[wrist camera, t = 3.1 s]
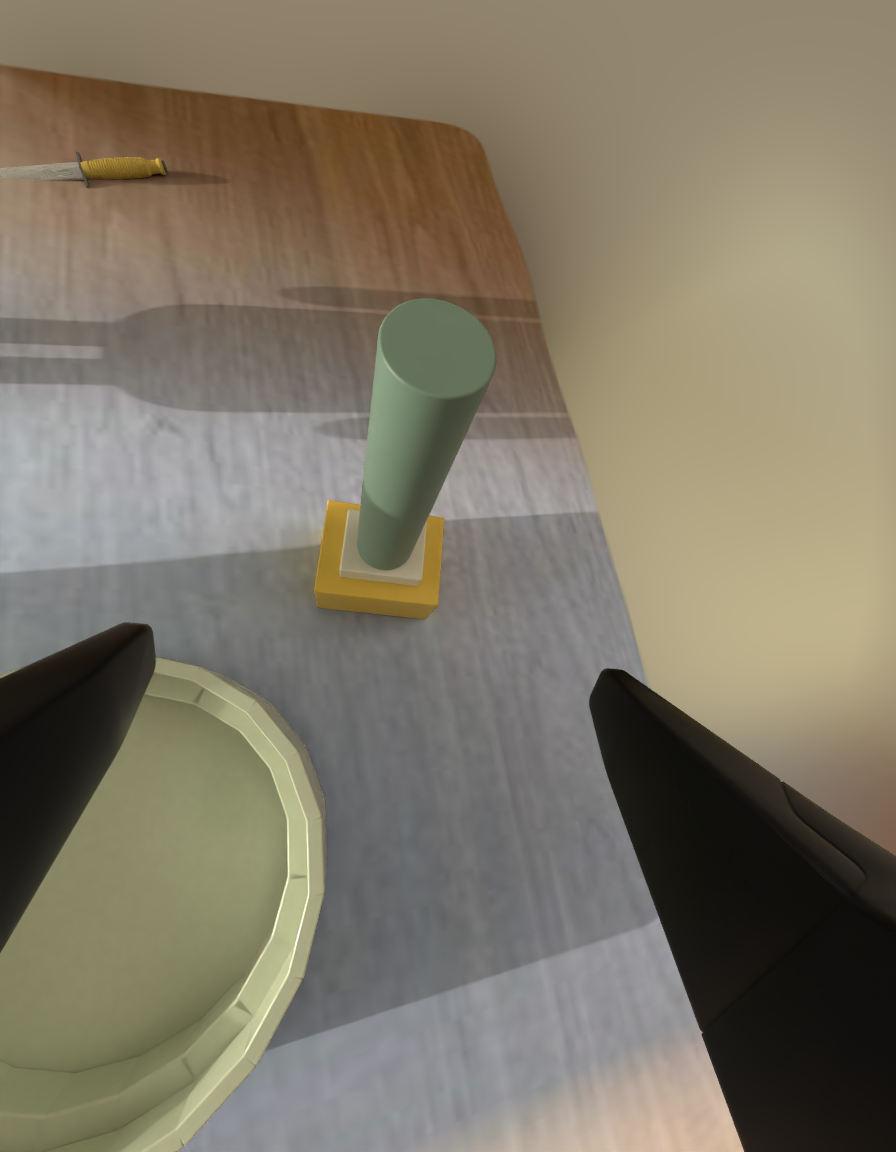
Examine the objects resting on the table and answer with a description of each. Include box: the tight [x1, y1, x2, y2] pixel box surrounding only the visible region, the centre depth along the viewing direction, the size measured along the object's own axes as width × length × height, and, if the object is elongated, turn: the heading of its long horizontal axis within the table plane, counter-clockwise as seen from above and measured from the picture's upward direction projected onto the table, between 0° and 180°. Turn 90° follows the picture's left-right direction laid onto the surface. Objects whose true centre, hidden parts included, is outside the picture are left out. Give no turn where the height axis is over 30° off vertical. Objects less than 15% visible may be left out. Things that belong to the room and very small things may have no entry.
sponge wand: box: [314, 298, 496, 619], centre depth 15 cm, size 5×4×14 cm
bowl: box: [0, 657, 327, 1152], centre depth 15 cm, size 14×14×4 cm
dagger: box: [0, 152, 167, 188], centre depth 24 cm, size 11×1×2 cm
